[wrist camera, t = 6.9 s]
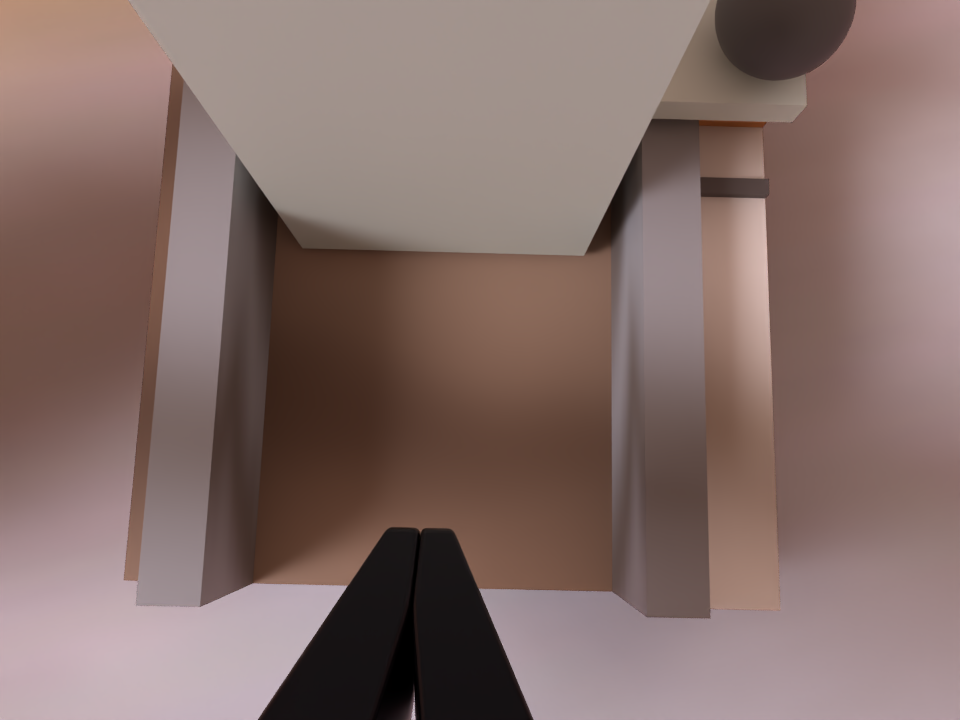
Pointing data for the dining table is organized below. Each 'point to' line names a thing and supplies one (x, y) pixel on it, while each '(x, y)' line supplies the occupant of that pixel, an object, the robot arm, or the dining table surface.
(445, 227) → the carriage
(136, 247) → the dining table surface
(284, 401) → the stand
